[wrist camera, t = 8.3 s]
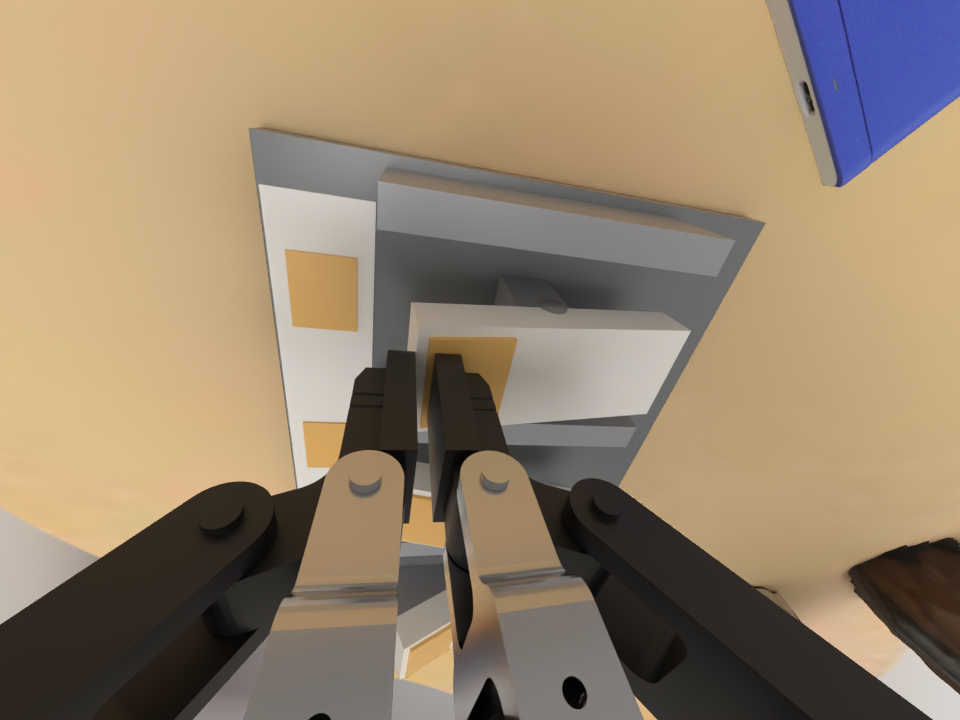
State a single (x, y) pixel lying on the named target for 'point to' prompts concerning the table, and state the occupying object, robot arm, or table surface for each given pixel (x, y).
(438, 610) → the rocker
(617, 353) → the rocker
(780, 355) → the table surface
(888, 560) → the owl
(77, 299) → the table surface
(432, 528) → the rocker middle
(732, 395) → the table surface
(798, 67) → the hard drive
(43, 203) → the table surface
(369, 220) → the switch unit
